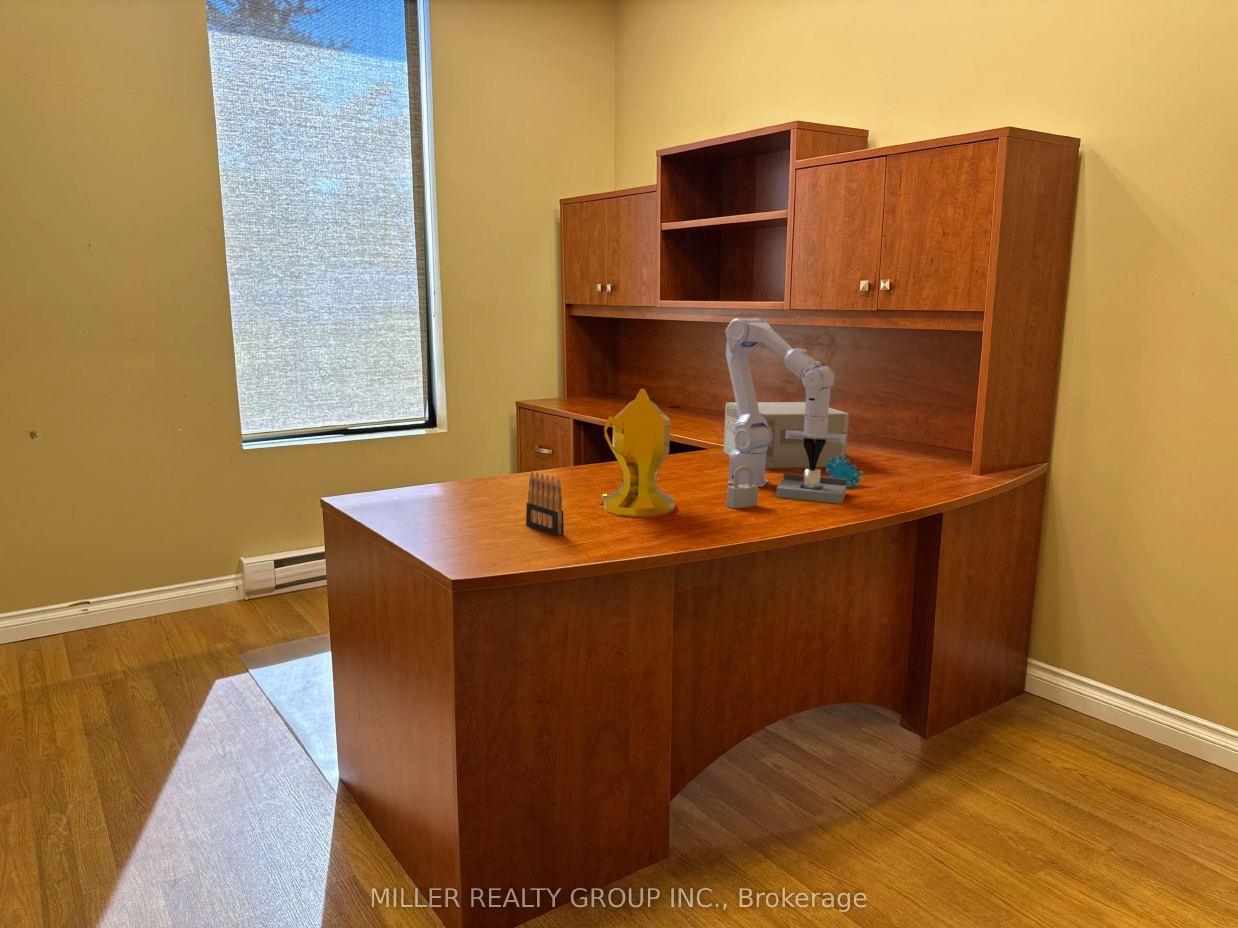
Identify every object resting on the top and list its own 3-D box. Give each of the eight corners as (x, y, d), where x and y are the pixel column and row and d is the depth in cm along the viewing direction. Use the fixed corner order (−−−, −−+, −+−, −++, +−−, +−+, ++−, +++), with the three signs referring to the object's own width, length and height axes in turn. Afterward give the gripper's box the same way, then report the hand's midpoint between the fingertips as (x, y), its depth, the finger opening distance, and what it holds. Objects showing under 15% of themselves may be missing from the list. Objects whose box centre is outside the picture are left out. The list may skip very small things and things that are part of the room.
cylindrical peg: (800, 497, 215) (802, 470, 214) (804, 494, 219) (806, 467, 217) (816, 499, 214) (818, 471, 212) (820, 496, 217) (822, 469, 216)
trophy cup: (575, 511, 196) (577, 389, 190) (634, 492, 216) (638, 382, 210) (638, 524, 186) (642, 396, 181) (694, 503, 206) (699, 388, 200)
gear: (832, 483, 224) (824, 452, 230) (821, 495, 229) (814, 464, 234) (869, 488, 227) (860, 457, 233) (857, 499, 232) (850, 469, 237)
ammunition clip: (525, 525, 183) (525, 470, 181) (532, 523, 184) (532, 469, 182) (557, 536, 175) (557, 479, 173) (563, 534, 177) (564, 478, 174)
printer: (845, 468, 255) (849, 413, 252) (754, 470, 249) (758, 414, 246) (805, 451, 281) (809, 401, 278) (723, 452, 275) (725, 402, 272)
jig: (776, 497, 215) (776, 481, 214) (783, 487, 226) (784, 473, 225) (841, 503, 209) (842, 488, 209) (845, 493, 220) (846, 478, 220)
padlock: (748, 503, 208) (751, 462, 206) (758, 506, 205) (761, 466, 203) (724, 505, 205) (726, 465, 203) (734, 509, 201) (736, 468, 199)
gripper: (784, 415, 211) (781, 468, 214) (844, 419, 206) (840, 474, 209) (789, 412, 218) (785, 464, 220) (847, 416, 213) (843, 469, 216)
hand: (812, 468), depth 215 cm, fingers closed
